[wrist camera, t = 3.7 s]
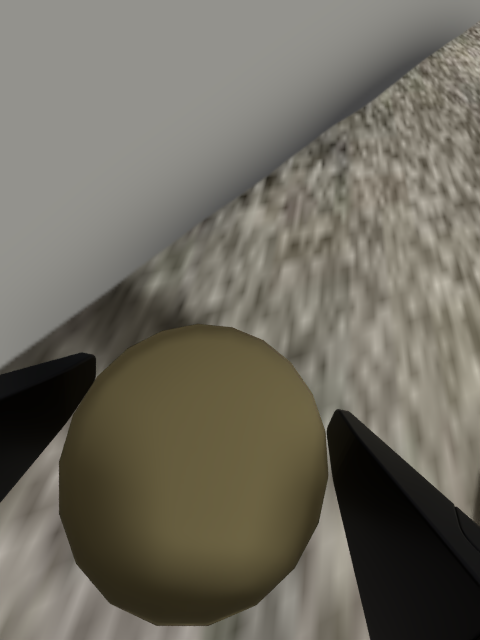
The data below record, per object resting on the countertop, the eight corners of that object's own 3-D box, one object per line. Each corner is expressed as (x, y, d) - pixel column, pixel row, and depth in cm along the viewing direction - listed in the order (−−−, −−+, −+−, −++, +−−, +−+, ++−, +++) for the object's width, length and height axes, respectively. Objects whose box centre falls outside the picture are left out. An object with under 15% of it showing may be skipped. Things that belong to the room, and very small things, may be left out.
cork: (147, 505, 12) (-115, 849, 2) (151, 381, 15) (26, 284, 5) (267, 488, 13) (451, 688, 3) (254, 373, 16) (336, 277, 5)
